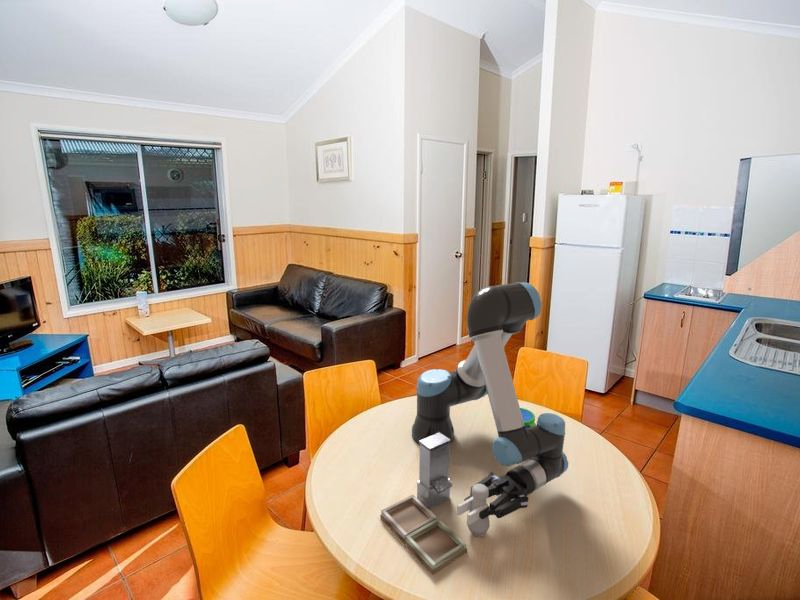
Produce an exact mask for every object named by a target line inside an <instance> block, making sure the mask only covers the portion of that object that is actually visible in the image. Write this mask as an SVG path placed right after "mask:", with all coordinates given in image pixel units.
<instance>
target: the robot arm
mask: <svg viewBox="0 0 800 600" xmlns="http://www.w3.org/2000/svg"><path fill="white" fill-rule="evenodd" d="M541 311H542V301H541V296H540V293H539V292H538V290H537V289H536V287H535V286H534V285H532V284H531V283H529V282H524V281H523V282H520V281H517V282H512V283H505V284H504V283H503V284H498V285H489V286H485V287H483V288H481V289H479V290H478V291H477V292H476V293H475V294H474V295H473V297H472V298H471V300H470V302H469V305H468V308H467V313H466V328H467V333H468V337H469V340H470V341H472V342H474V345H473V347H472V348H471V350H470V352H469V354H468V355H467V357H466V359H463V360H461V361H460V362H459V363H458V365H457V366H456V369H455V370H453V371H450V372H449V371H448V370H446V369H443V368H439V369H436V368H434V369H428V370H426V371H424V372H422V373H421V374H420V375H419V377H418V379H417V384H416V416H415V419H414V422H413V424H412V427H411V437H412V439H413V440H414V441H415V442H417V443H418V444H419V440H422V439H424V438H427V437H429V436H431V435H434V434H436V433H439V432H440V433H441V434H443V435H444V436H446V437H447V438H449V439H450V440H451V442H452V441H453V440H454V438H455V428H454V426H453V422H452V419H451V415H450V413H451V407H453V406H457V405H461V404H463V403H468V402H472V401H477V400H479V399H482V398H484V397H486V396H487V397H488V400H489V404H490V409H491V411H492V415H493V419H494V423H495V427H496V431H497V435H498V437H496V438H495V439H494V440H493V442H492V454H493V456H494V458H495V459H496V462H498V463H499V465H501V466H504V467H509V466H513V465H516V464H518V465H517V466H515V467H513V468H511V469H510V470H508V471H507V472H506V474H503V475H499V476H497V475H495V474H494V472H492V471H490V472H489V473H488V474H487V475H486V476H485V477H484V478H482V479H481V480H479V481H478V482H476V483H475V484H473V485H472V486H471V487H470V495H469V496H467V497H465V498H464V500H463V501H462V502H460V503H459V504H457V505H456V515H457V516H458V517H459V516H461V515H463V514H464V513H467V512H468V513H467V516H466V525H467V524H469V525H470V524H472V523H473V522H475V521H477V520H478V519H480V518H481V519H485V518H486V517H488V516H495V517H496V518H497V519H501V518H503V517H506V516H508V515H509V514H511V513H513V512H516V511H517V510H519V509H526V508H528V507H529V506H528V505H529V495H531V494H532V493H533V492H535V491H537V490H538V489H540V488H542V487H543V486H545V485H547V483H549V482H551V481H553V480H555V479H557V478H559V477H561V476H562V475H563V474H564V473H565V472H567V470H568V468H569V461H568V457H567V454H565V452H564V451H563V450H564V444H565V438H566V437H565V435H566V422H565V420H564V418H562V416H559V415H558V414H555V413H552V412H544V413H541V414H540V415H539V416H538V417H537V420H536V426H533V427H530V428H527V429H525V426H524V422H523V418H522V414H521V411H520V408H521V407H520V404H519V400H518V396H517V393H516V388H515V385H514V381H513V377H512V374H511V369H510V367H509V363H508V358H507V355H506V351H505V346H506V345H507V343H508V342H509V340H510V338H511V337H512V335H514V334H518V333H520V331H521V330H522V328H523V327H524V326H525V324H526V323H527V322H528V321H533V320H534V319H537V318H538V317H539V316H540V314H541ZM476 484H483V485H485V486H486V487H487V488H488V490H489V496H488V498H487V499H489V498H492V497H494V496H496V497H497V496H498V497H497V498H495V499H494V500H493V501H492V502H491V501H490V502H489V503H487V504H485V505H484V506H480V507H478V508H477V509H475V510H473V511H472V512H470V513H469V511H470V508H471V504H472V501H473V496H472V494H471V491H472V487H473V486H474V485H476Z"/></svg>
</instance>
